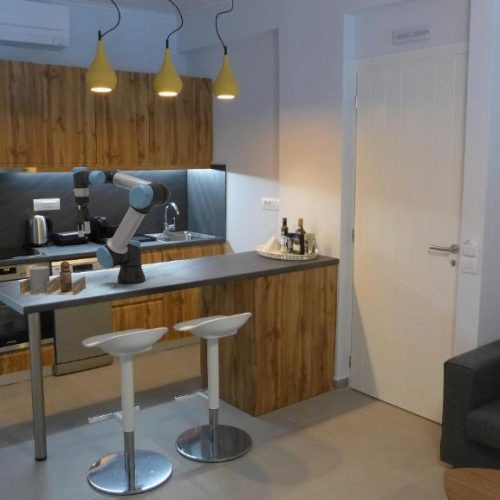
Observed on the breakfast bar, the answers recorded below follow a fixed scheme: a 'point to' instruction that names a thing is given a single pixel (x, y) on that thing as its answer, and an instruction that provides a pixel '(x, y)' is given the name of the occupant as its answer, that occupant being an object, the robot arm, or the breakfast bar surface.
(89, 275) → the breakfast bar surface
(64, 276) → the pepper mill
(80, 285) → the rack
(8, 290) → the breakfast bar surface
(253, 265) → the breakfast bar surface
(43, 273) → the grey notched block
